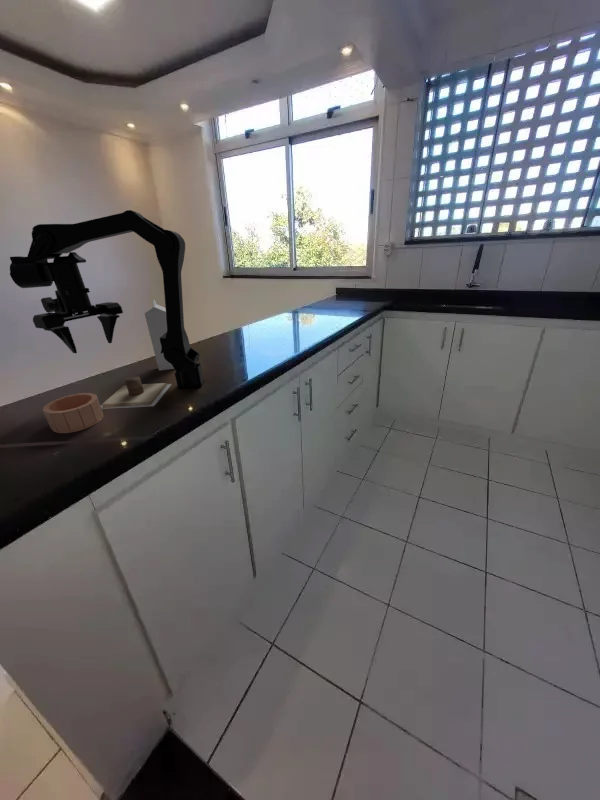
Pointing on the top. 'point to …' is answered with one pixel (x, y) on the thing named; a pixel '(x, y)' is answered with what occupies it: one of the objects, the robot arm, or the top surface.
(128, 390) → the cover
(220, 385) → the top surface
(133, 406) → the mat
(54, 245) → the robot arm
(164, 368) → the milk
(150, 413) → the top surface
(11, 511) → the top surface
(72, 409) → the bowl
